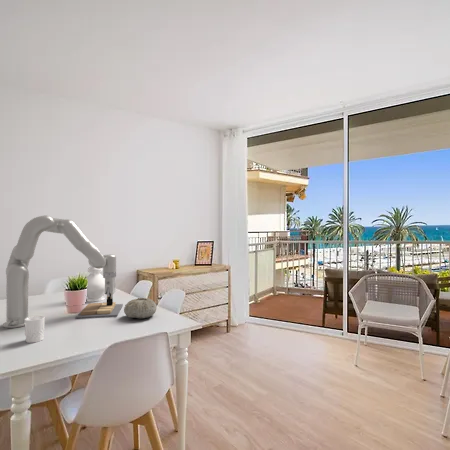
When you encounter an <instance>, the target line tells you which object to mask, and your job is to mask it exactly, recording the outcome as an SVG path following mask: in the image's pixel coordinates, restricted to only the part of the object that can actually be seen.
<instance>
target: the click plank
mask: <svg viewBox="0 0 450 450" xmlns="http://www.w3.org/2000/svg"><path fill="white" fill-rule="evenodd" d="M101 303H102V305H101V306H100V307H99V309H98V310H97V314H111V312H112V310H113V309H114V307H115V305H116V304H117V302H115V301H113V304H112V305H108V306H107V301H106V302H101Z"/></svg>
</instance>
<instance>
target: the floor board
mask: <svg viewBox="0 0 450 450" xmlns="http://www.w3.org/2000/svg"><path fill="white" fill-rule="evenodd" d="M102 303H103V302H89V303H88V304H86V306H85V307H83V308H82V310H80V312H79V313H78V314H77V315H76V316H75V320H76V319H77V320H79V319H82V320H83V319H97V318H101V319H102V318H115V317H118V316H119V313H120V312H121V310H122V307H123V303H116V305H115V307H114V309H113V310H112V312H111V314H97V310H98V309H99V307H100V306H101V305H102Z"/></svg>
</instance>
